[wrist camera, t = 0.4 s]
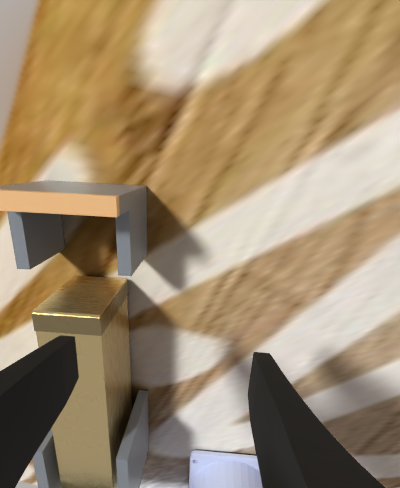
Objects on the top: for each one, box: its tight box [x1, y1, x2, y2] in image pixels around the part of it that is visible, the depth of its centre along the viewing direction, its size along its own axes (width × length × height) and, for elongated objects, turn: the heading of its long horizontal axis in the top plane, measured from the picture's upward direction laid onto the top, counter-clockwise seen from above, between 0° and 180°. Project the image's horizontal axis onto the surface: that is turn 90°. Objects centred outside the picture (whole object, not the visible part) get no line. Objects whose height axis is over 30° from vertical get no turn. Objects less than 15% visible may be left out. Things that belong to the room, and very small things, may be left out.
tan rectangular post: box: [32, 275, 132, 488], centre depth 20 cm, size 17×4×5 cm, turn 177°
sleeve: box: [33, 390, 149, 488], centre depth 22 cm, size 7×7×6 cm
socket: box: [0, 181, 147, 276], centre depth 16 cm, size 5×7×6 cm
